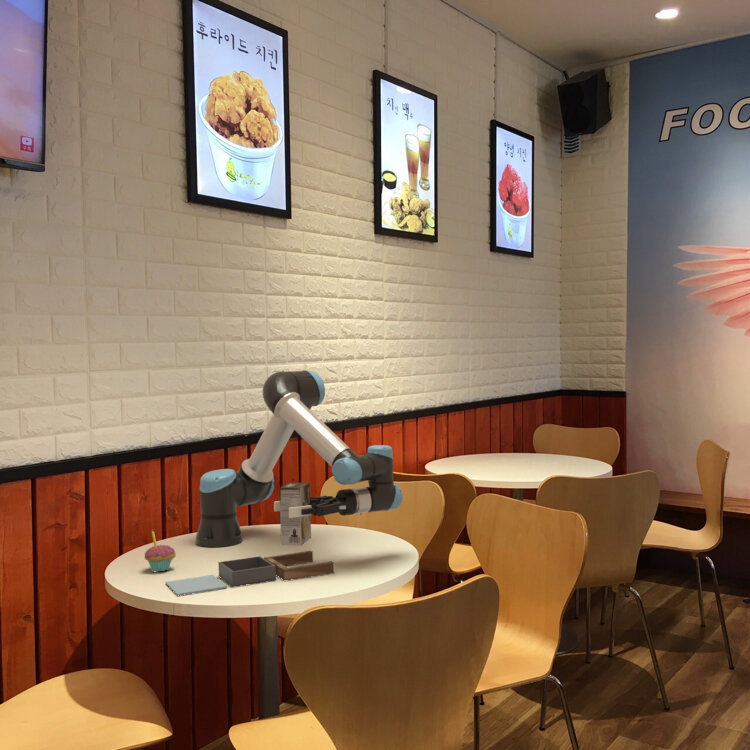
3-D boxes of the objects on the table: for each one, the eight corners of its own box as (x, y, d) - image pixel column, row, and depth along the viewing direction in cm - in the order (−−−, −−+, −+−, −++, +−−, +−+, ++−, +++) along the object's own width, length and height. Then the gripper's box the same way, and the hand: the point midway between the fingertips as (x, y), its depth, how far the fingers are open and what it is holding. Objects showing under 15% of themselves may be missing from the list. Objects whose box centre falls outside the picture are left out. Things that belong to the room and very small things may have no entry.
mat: (165, 584, 213) (165, 581, 213) (212, 577, 219) (212, 574, 219) (177, 596, 201) (177, 594, 201) (227, 588, 207) (226, 586, 207)
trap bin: (218, 576, 219) (218, 562, 219) (260, 570, 225) (260, 556, 225) (232, 587, 208) (232, 572, 208) (275, 580, 214) (275, 565, 214)
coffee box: (290, 537, 228) (288, 482, 228) (311, 538, 227) (310, 482, 227) (280, 545, 219) (278, 487, 219) (302, 545, 218) (301, 487, 218)
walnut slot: (264, 567, 228) (263, 557, 228) (310, 560, 234) (310, 550, 234) (284, 581, 213) (284, 570, 213) (333, 573, 220) (333, 562, 220)
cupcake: (147, 575, 222) (145, 533, 222) (143, 568, 230) (142, 527, 229) (178, 571, 225) (177, 529, 225) (173, 564, 233) (172, 524, 233)
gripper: (371, 520, 221) (298, 530, 211) (335, 508, 242) (267, 516, 231) (370, 494, 221) (297, 502, 211) (335, 483, 241) (266, 490, 231)
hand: (281, 509), depth 221 cm, fingers closed on coffee box, 10 cm apart
